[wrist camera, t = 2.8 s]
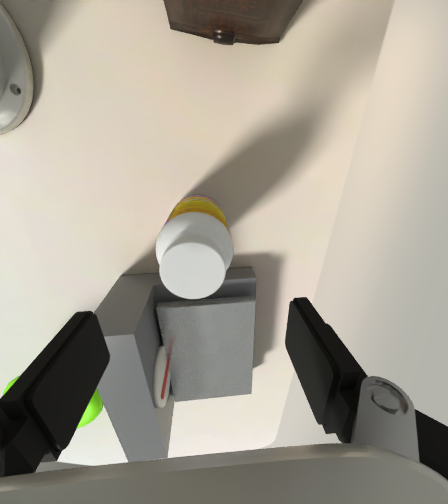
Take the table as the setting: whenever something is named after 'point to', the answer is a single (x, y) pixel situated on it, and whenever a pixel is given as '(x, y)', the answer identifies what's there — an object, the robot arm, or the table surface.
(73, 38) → the table surface
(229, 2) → the manual coffee grinder
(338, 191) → the table surface
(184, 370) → the pan
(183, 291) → the supplement bottle
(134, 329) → the scale
